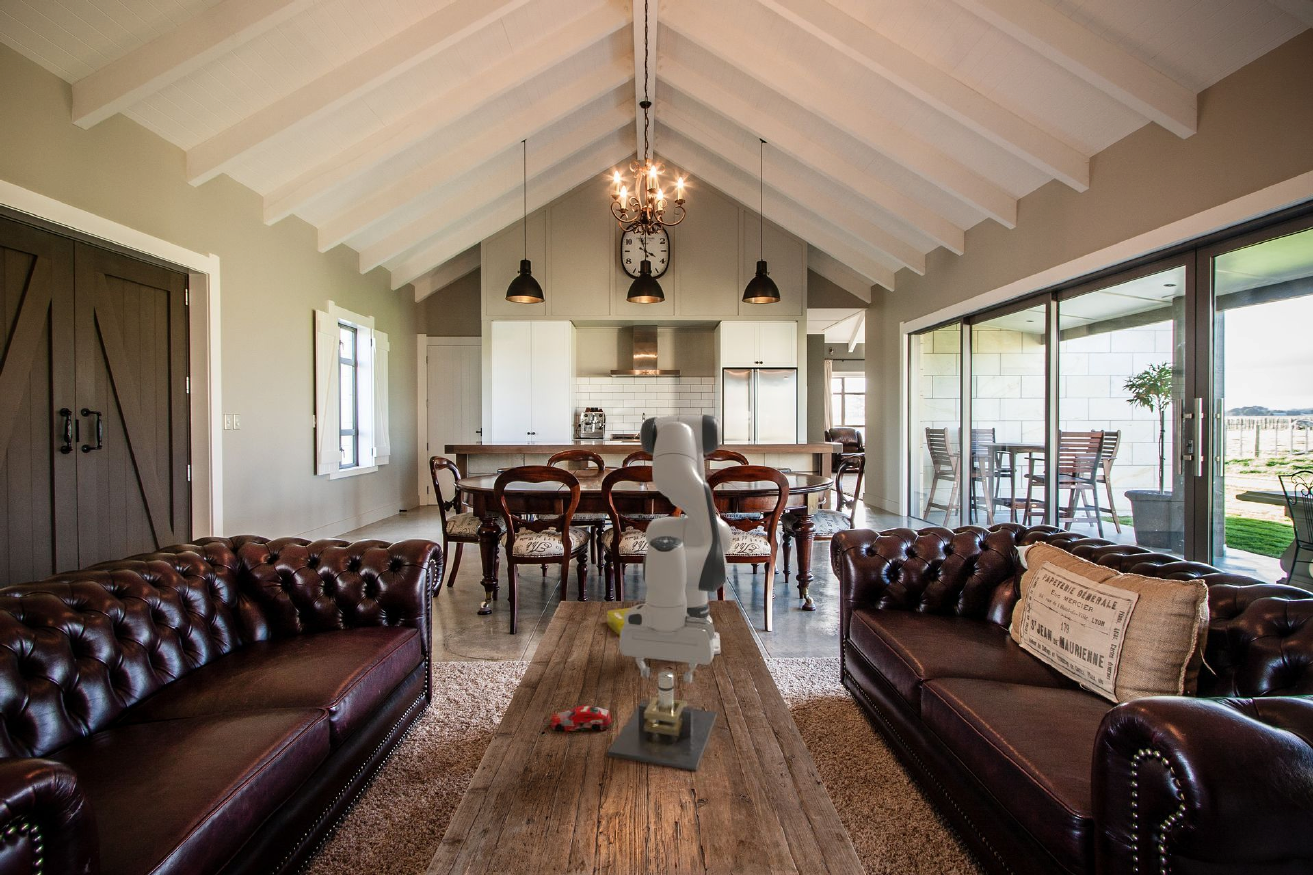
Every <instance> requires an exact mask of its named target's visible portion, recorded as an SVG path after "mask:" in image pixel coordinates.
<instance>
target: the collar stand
mask: <svg viewBox="0 0 1313 875" xmlns="http://www.w3.org/2000/svg"><path fill="white" fill-rule="evenodd" d="M717 715H718V712H717V711H713V710H707V709H706V710H705V709H697V708H694V707H692V706H688V701H687V700H682V699H681V700H680V699H674V698H673V713H666V712H658V696H653V697H652V699H651V701H647V700H646V701H645V700H641V701H640V703H639V705H638V706H637V707H636V709H635V710H634V712H633V713H632V715H631V716H630V718H629V719H628V721H627V722H626V723H625V725H624V726H623V728H622V730H621V731H620V732H619V734H618V735H617V737H616V738H615V739H614V742H613V743H612V745H610V747H609V749H608V750H607V757H609V758H616V759H623V760H628V761H634V762H639V763H640V762H641V763H647V764H653V765H659V766H664V767H665V766H666V767H669V768H670V767H671V768H676V769H677V768H679V769H683V770H689V771H690V770H691V771H696V772H697V770H698V768H699V766H700V765H699V764H700V763H701V759H702V757H703V754H704V752H705V749H706V746H707V743H708V741H709V739H710V735H711V733H712V730H713V728H714V725H715V722H716V720H717ZM658 720H661V721H668V722H673V726H667V725H660V724H658Z"/></svg>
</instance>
